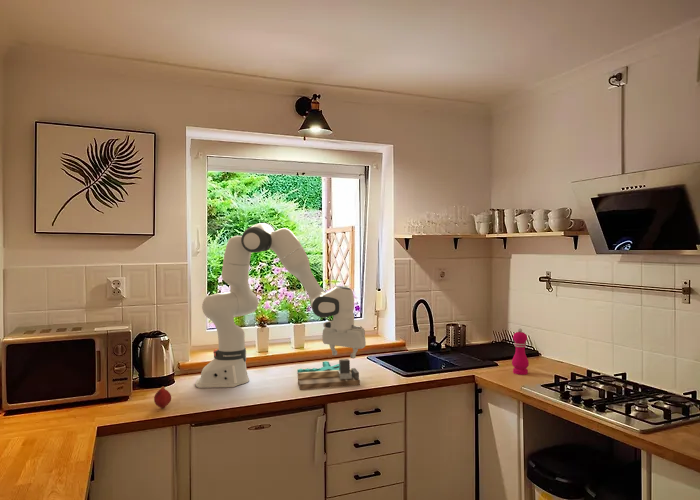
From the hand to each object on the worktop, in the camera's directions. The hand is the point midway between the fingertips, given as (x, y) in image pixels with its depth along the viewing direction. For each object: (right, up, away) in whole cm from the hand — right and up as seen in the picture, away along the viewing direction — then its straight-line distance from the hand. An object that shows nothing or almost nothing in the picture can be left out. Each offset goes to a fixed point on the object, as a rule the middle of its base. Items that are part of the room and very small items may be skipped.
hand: (343, 356), depth 221 cm
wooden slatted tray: (-6, -11, -2) cm, 13 cm away
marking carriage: (+1, -9, -1) cm, 9 cm away
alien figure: (-7, -12, +18) cm, 23 cm away
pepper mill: (+79, -10, +11) cm, 80 cm away
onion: (-66, -13, -31) cm, 74 cm away
